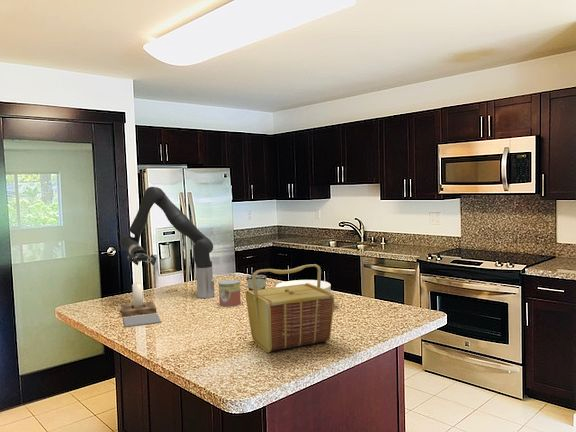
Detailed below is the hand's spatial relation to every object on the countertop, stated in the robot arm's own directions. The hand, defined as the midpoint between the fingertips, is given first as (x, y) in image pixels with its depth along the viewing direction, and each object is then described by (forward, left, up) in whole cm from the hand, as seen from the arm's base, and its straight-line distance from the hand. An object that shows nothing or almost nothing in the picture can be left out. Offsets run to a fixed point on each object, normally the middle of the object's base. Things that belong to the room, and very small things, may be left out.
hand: (145, 263), depth 251 cm
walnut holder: (+5, +7, -23) cm, 25 cm away
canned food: (-41, +16, -24) cm, 50 cm away
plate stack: (-73, +41, -24) cm, 87 cm away
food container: (-63, -4, -24) cm, 67 cm away
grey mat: (+5, +27, -23) cm, 36 cm away
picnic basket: (-46, +89, -24) cm, 103 cm away
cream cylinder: (+5, +7, -23) cm, 25 cm away
